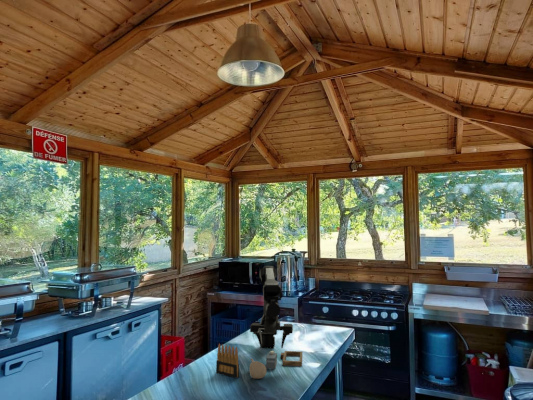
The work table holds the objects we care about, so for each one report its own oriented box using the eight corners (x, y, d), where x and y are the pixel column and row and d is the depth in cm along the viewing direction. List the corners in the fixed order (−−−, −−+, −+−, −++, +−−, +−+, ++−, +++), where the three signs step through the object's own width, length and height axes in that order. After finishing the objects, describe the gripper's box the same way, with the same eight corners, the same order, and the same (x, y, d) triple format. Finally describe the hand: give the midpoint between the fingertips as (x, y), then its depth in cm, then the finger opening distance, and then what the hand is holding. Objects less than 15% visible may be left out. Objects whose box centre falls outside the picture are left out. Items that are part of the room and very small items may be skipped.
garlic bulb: (255, 374, 154) (255, 354, 155) (268, 377, 151) (268, 356, 151) (246, 379, 148) (246, 358, 149) (260, 382, 145) (260, 361, 146)
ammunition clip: (239, 376, 151) (239, 346, 152) (236, 378, 149) (236, 347, 150) (218, 371, 156) (219, 342, 158) (215, 373, 155) (216, 343, 156)
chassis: (279, 365, 164) (279, 361, 164) (281, 354, 178) (281, 350, 179) (301, 366, 163) (301, 361, 163) (302, 355, 177) (302, 351, 177)
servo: (265, 369, 159) (265, 356, 160) (268, 362, 168) (268, 349, 169) (275, 370, 159) (275, 356, 159) (277, 362, 168) (277, 350, 168)
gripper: (248, 315, 159) (247, 352, 158) (291, 316, 157) (291, 354, 156) (252, 310, 170) (252, 345, 169) (292, 311, 168) (293, 346, 167)
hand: (271, 347), depth 165 cm, fingers open, 9 cm apart
